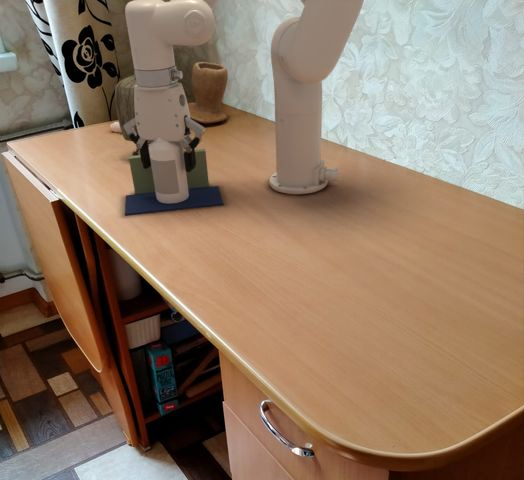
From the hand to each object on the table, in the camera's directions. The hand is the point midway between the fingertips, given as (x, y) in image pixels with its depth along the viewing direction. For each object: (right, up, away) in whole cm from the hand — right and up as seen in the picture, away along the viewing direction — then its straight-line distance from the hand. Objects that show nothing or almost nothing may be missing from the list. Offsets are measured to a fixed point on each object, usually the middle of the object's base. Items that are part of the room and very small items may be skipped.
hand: (169, 168), depth 117 cm
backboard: (-1, -2, +8) cm, 9 cm away
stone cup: (+3, +30, +50) cm, 58 cm away
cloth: (0, -6, +4) cm, 7 cm away
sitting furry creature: (-17, +24, +44) cm, 54 cm away
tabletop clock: (-7, +12, +28) cm, 32 cm away
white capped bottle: (0, -5, +4) cm, 7 cm away
